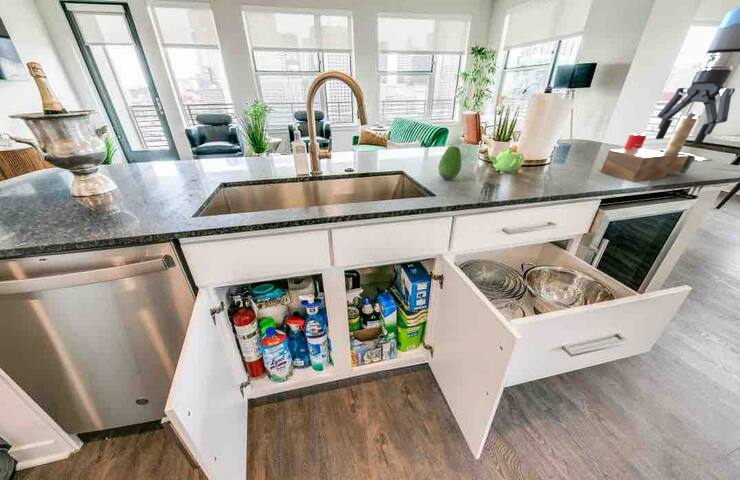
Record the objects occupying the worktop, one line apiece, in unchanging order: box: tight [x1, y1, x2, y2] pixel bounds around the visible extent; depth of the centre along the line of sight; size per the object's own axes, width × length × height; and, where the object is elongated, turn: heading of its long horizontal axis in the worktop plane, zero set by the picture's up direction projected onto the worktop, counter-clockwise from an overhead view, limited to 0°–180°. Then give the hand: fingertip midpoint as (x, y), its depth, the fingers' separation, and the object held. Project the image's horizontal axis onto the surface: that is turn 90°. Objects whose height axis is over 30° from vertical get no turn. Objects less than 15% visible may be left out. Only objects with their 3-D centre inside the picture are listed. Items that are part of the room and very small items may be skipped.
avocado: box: [438, 145, 463, 181], centre depth 98 cm, size 8×8×12 cm
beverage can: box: [623, 132, 647, 149], centre depth 115 cm, size 5×5×12 cm
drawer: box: [653, 148, 697, 175], centre depth 104 cm, size 18×11×7 cm, turn 103°
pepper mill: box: [663, 111, 699, 156], centre depth 98 cm, size 4×4×20 cm
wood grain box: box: [600, 147, 677, 182], centre depth 101 cm, size 14×12×8 cm
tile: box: [694, 155, 713, 162], centre depth 123 cm, size 7×7×1 cm
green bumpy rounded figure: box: [488, 149, 524, 175], centre depth 107 cm, size 11×12×8 cm
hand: (677, 141), depth 98 cm, fingers open, 11 cm apart
